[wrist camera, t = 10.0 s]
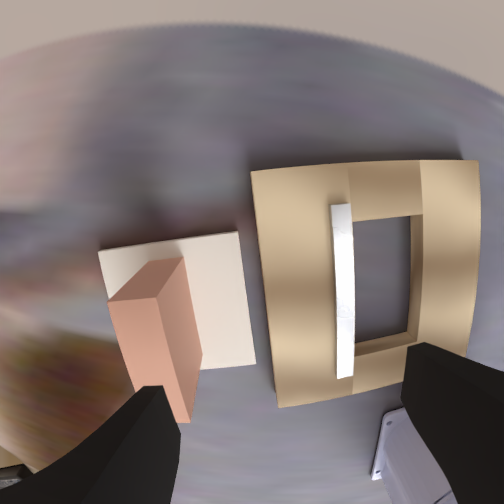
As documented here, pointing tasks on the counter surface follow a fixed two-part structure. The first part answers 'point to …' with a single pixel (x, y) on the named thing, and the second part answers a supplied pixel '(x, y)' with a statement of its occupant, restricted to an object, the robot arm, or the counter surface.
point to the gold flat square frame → (342, 268)
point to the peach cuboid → (160, 332)
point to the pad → (199, 290)
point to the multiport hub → (13, 474)
